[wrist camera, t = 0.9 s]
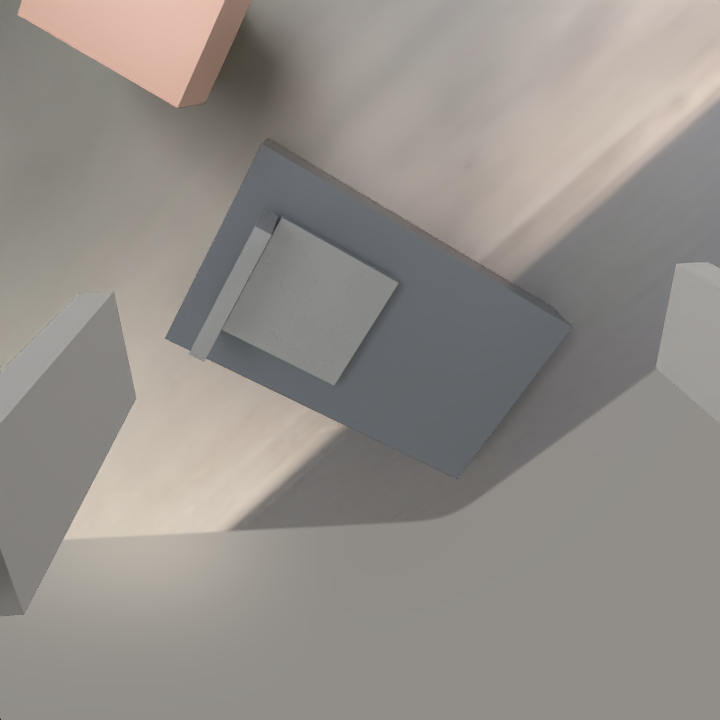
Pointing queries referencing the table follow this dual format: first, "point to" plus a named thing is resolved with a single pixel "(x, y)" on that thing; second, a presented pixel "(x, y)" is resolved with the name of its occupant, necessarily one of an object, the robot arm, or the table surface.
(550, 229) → the table surface
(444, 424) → the socket block
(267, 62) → the table surface
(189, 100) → the plug
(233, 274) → the shutter
